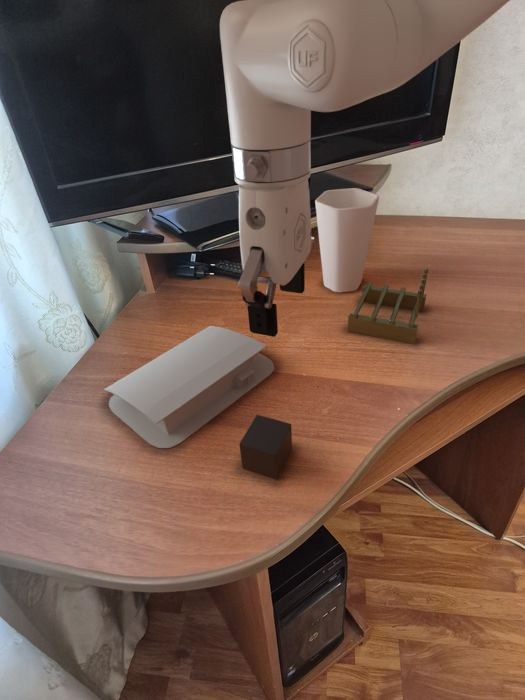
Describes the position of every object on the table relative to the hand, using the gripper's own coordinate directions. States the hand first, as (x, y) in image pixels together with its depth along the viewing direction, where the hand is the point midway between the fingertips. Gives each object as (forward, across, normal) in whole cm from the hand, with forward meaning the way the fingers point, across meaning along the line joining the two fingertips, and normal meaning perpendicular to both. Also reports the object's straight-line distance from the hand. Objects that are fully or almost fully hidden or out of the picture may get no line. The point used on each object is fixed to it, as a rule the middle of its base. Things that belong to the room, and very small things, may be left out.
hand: (278, 310), depth 53 cm
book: (+15, -1, +14) cm, 21 cm away
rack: (+15, +25, -10) cm, 31 cm away
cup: (+15, +35, 0) cm, 38 cm away
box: (+15, -10, -2) cm, 18 cm away
